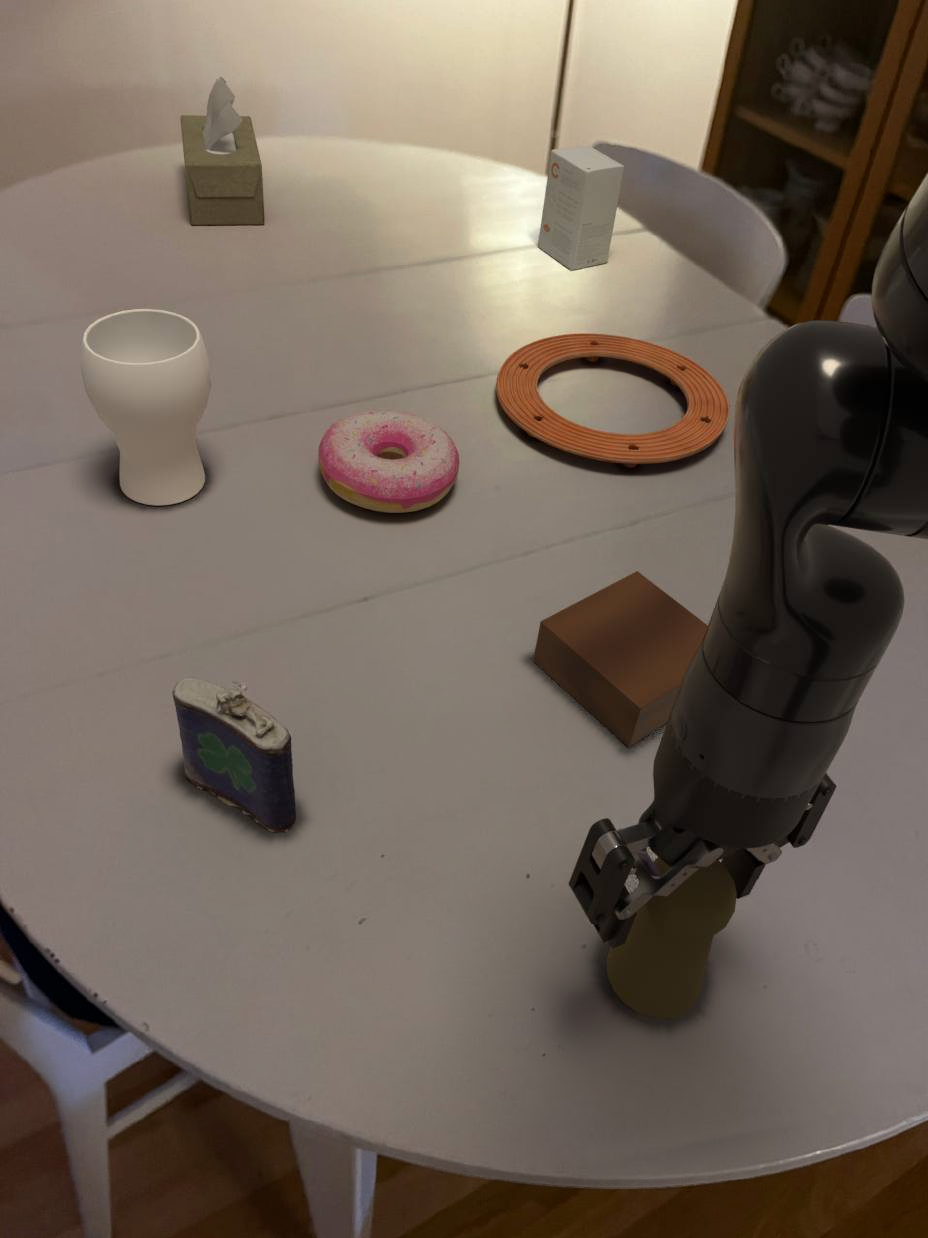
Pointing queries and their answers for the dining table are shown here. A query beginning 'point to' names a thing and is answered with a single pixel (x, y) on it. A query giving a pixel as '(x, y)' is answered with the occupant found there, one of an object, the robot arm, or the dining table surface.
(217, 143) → the tissue box
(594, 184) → the small box
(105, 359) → the cup
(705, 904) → the olive pawn
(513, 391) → the ring
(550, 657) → the walnut block
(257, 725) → the flask
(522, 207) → the dining table surface
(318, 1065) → the dining table surface
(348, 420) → the donut
